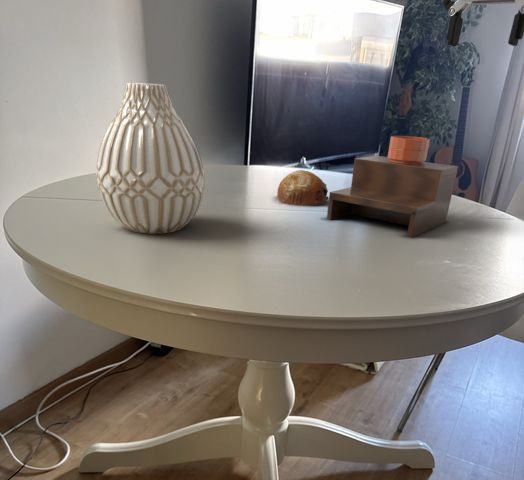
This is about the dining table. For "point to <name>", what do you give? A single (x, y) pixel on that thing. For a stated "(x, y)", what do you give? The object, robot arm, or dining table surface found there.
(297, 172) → the bread roll
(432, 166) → the shelf
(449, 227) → the dining table surface
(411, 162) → the bowl
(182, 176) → the vase
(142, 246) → the dining table surface
